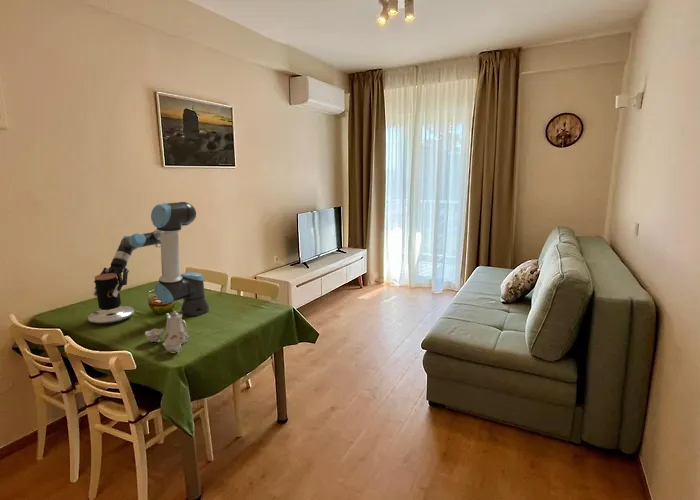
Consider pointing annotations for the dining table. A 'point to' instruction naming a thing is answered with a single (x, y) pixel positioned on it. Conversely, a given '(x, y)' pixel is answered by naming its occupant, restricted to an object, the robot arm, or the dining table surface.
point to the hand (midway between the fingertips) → (104, 295)
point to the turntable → (110, 315)
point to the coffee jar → (107, 291)
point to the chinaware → (171, 333)
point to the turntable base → (111, 322)
